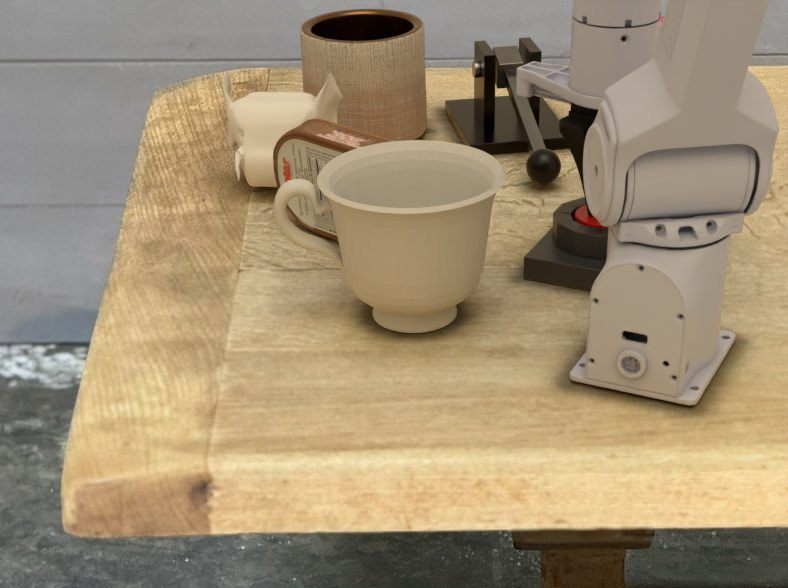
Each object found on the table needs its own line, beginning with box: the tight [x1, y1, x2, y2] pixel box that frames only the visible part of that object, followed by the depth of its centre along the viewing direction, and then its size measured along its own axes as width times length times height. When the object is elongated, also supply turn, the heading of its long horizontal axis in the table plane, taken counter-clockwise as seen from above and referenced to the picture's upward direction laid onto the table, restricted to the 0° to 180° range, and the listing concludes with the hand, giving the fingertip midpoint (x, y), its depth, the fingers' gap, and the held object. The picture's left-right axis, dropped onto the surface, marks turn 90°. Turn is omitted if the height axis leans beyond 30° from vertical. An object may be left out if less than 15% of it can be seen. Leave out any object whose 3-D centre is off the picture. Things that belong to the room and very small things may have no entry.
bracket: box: [444, 36, 569, 155], centre depth 117 cm, size 12×9×7 cm
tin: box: [273, 118, 393, 242], centre depth 97 cm, size 15×3×8 cm, turn 48°
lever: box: [492, 45, 562, 185], centre depth 111 cm, size 17×3×3 cm, turn 8°
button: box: [575, 205, 609, 229], centre depth 94 cm, size 4×4×2 cm
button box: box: [522, 196, 609, 292], centre depth 95 cm, size 10×8×4 cm
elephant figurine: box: [221, 71, 343, 188], centre depth 107 cm, size 10×12×9 cm
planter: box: [299, 8, 428, 141], centre depth 116 cm, size 11×11×10 cm
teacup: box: [273, 139, 507, 334], centre depth 87 cm, size 12×15×10 cm
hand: (603, 213), depth 94 cm, fingers closed, pressing on button
